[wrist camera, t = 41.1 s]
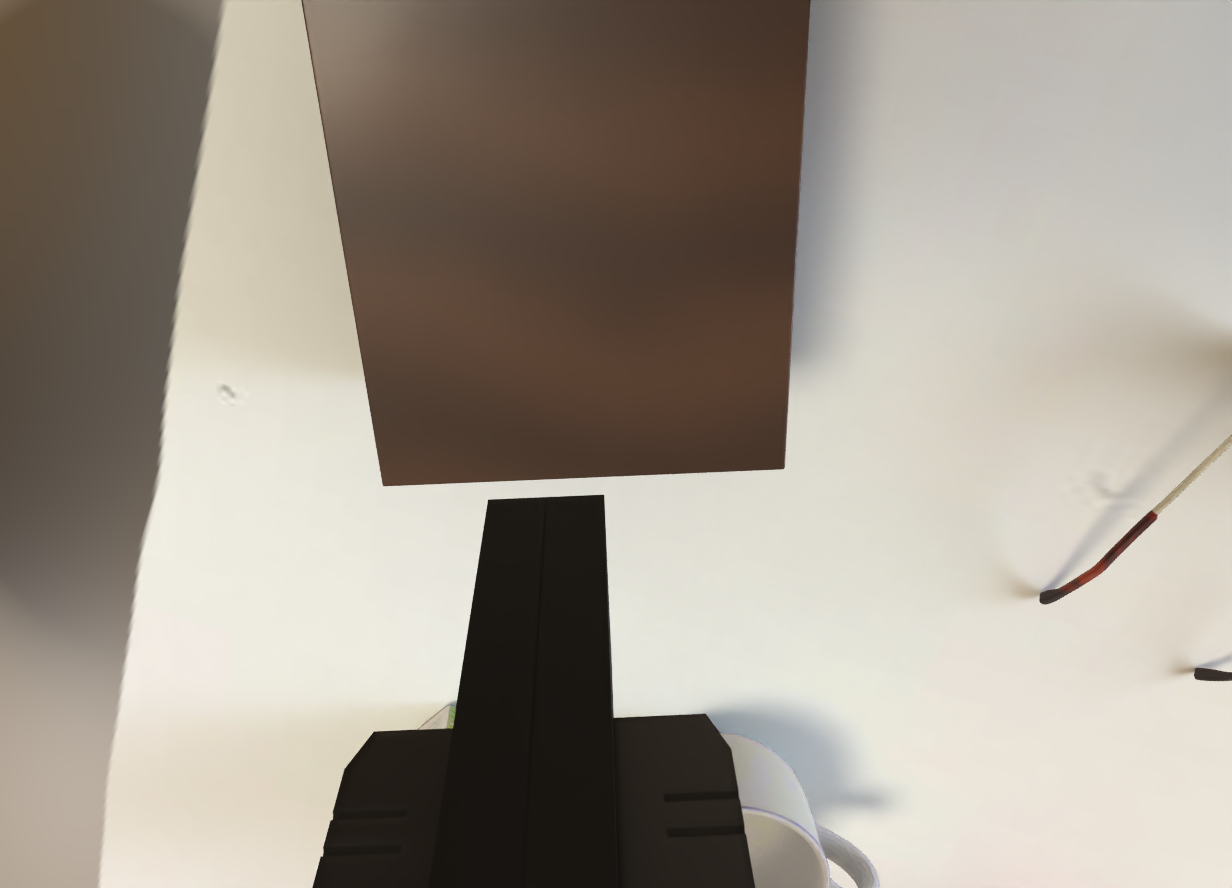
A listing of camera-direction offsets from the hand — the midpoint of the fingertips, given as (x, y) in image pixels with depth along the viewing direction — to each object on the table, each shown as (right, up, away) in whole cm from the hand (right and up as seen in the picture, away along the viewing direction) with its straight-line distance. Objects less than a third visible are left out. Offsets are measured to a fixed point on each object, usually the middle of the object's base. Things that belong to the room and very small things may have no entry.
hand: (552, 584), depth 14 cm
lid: (-1, +9, +20) cm, 22 cm away
